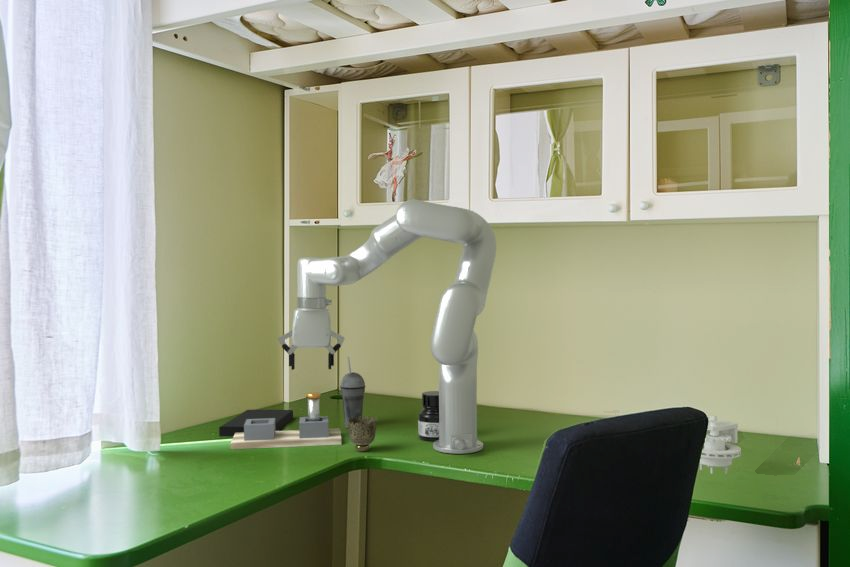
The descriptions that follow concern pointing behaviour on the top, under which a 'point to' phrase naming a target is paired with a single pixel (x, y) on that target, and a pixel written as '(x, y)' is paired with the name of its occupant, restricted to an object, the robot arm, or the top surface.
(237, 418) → the external hard drive
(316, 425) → the lock mount
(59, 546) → the top surface
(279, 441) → the dock board
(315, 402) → the pin
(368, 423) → the cup
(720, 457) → the mechanical part
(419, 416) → the ink bottle
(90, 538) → the top surface
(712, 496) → the top surface
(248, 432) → the dock socket
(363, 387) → the beverage cup
